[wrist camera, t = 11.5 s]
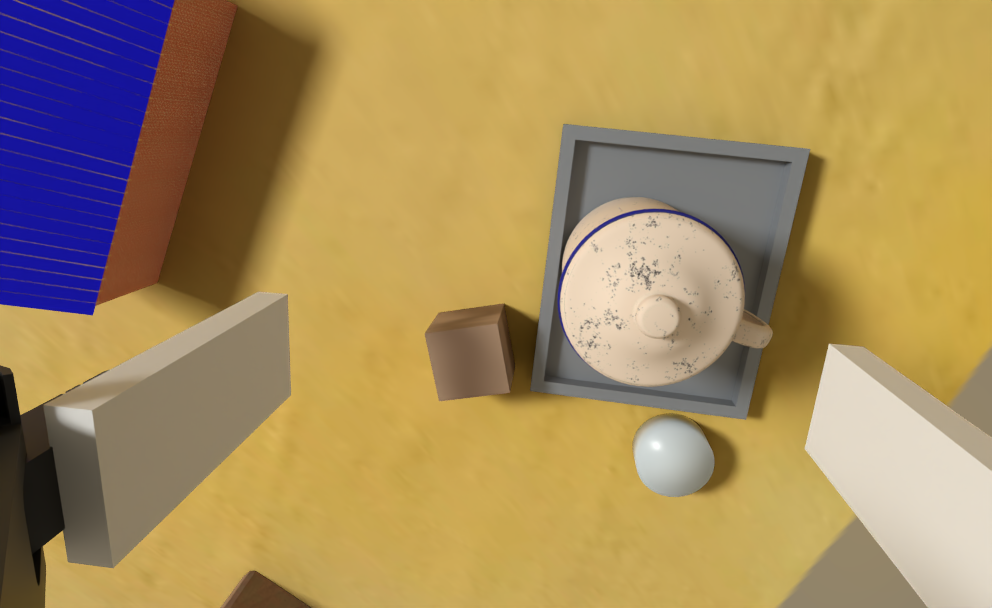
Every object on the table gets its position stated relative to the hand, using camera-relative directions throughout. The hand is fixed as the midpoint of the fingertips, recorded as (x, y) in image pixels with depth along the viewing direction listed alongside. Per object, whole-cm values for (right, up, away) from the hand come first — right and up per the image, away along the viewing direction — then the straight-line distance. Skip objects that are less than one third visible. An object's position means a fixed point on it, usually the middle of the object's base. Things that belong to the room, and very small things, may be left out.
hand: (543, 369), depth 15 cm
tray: (+9, +4, +24) cm, 26 cm away
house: (-26, +14, +25) cm, 39 cm away
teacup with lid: (+9, +4, +23) cm, 25 cm away
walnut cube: (-2, -1, +26) cm, 27 cm away
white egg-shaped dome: (+11, -8, +27) cm, 30 cm away
